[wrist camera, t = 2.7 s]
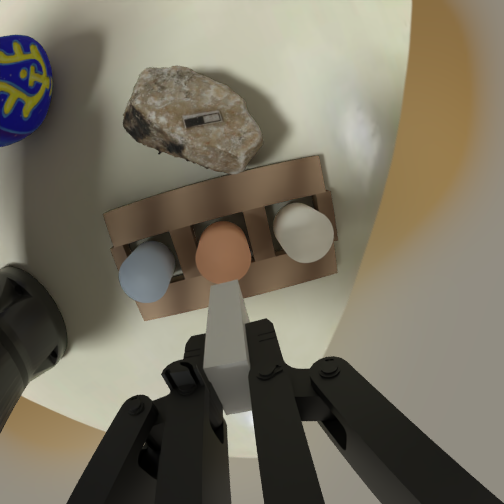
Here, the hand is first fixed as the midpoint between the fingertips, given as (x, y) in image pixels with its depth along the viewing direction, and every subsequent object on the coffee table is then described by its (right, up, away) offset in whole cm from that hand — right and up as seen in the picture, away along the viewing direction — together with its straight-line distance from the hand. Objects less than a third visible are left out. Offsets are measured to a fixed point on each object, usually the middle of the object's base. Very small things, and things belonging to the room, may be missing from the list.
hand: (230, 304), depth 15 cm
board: (-2, +4, +12) cm, 13 cm away
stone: (-4, +14, +9) cm, 17 cm away
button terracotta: (-2, +4, +11) cm, 11 cm away
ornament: (-23, +20, +5) cm, 31 cm away
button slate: (-8, +2, +10) cm, 13 cm away
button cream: (+5, +5, +11) cm, 13 cm away
